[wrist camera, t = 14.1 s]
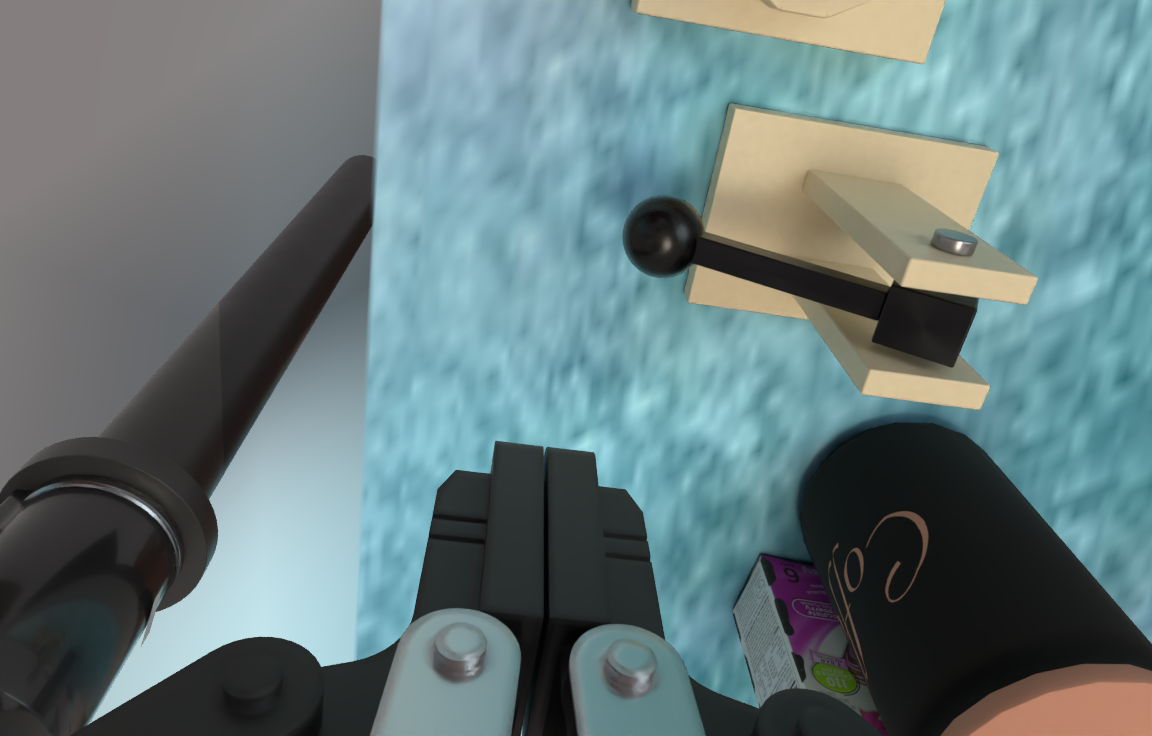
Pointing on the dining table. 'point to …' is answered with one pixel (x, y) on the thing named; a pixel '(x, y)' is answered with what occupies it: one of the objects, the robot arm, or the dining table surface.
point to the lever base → (857, 234)
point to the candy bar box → (797, 637)
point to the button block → (818, 22)
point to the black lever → (799, 280)
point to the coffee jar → (967, 596)
